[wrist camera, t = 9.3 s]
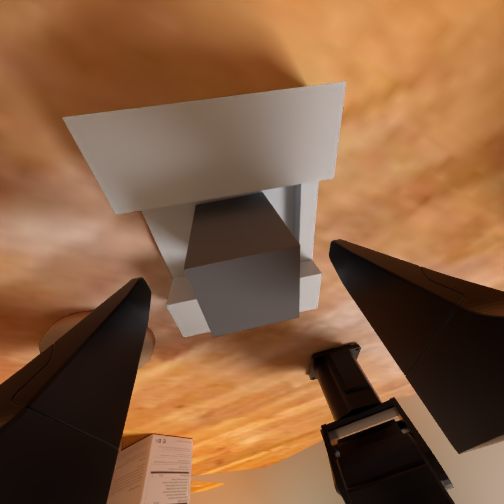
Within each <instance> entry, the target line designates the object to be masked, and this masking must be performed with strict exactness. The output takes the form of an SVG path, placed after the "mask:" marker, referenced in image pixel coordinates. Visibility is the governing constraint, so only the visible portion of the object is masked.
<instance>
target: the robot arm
mask: <svg viewBox="0 0 504 504" xmlns="http://www.w3.org/2000/svg"><path fill="white" fill-rule="evenodd" d="M329 258H330V260H331V262H332V264H333V266H334V268H335V270H336V272H337V274H338V276H339V277H340V279H341V281H342V283H343V285H344V286H345V288H346V289H347V291H348V292H349V294H350V295H351V297H352V298H353V300H354V301H355V302H356V304H357V305H358V307H359V308H360V310H361V311H362V313H363V314H364V316H365V317H366V319H367V320H368V322H369V323H370V325H371V326H372V328H373V329H374V331H375V332H376V333H377V335H378V336H379V338H380V339H381V341H382V342H383V344H384V345H385V347H386V348H387V350H388V351H389V353H390V354H391V356H392V357H393V359H394V360H395V362H396V363H397V365H398V366H399V367H400V369H401V370H402V372H403V373H404V375H406V378H407V380H408V381H409V382H410V384H411V385H412V387H413V388H414V390H415V391H416V393H417V394H418V396H419V397H420V399H421V400H422V402H423V403H424V404H425V406H426V408H427V409H428V411H429V412H430V413H431V415H432V416H433V418H434V419H435V421H436V422H437V424H438V425H439V427H440V428H441V430H442V431H443V433H444V434H445V436H446V437H447V438H448V440H449V442H450V443H451V444H452V446H453V447H454V449H455V450H456V451H457V452H458V454H461V453H465V452H468V451H471V450H475V449H478V448H482V447H485V446H488V445H492V444H495V443H498V442H502V441H504V292H503V291H500V290H496V289H493V288H489V287H486V286H483V285H479V284H476V283H472V282H469V281H465V280H462V279H459V278H455V277H452V276H448V275H445V274H442V273H439V272H436V271H433V270H430V269H427V268H424V267H419V266H418V265H415V264H412V263H409V262H406V261H403V260H400V259H397V258H394V257H391V256H388V255H385V254H383V253H380V252H377V251H374V250H371V249H368V248H365V247H362V246H359V245H356V244H353V243H350V242H347V241H344V240H341V239H338V240H333V241H332V242H331V244H330V251H329ZM150 301H151V290H150V288H149V287H148V285H147V283H146V281H145V280H144V279H143V278H142V277H140V278H135V279H132V280H130V281H129V282H128V283H127V284H126V285H124V286H123V287H122V288H121V289H119V290H118V291H117V292H116V293H114V294H113V295H112V296H111V297H110V298H108V299H107V300H106V301H105V302H103V303H102V304H101V305H100V306H98V307H97V308H96V309H95V310H94V311H92V312H91V313H90V314H89V315H87V316H86V317H85V318H84V319H82V320H81V321H80V322H79V323H78V324H76V325H75V326H74V327H73V328H71V329H70V330H69V331H68V332H66V333H65V334H64V335H63V336H62V337H60V338H59V339H58V340H57V341H55V342H54V344H52V345H50V346H49V347H48V348H47V349H45V350H44V351H43V352H42V353H41V354H39V355H38V356H37V357H36V358H34V359H33V360H32V361H30V362H29V363H28V364H27V365H25V366H24V367H23V368H22V369H20V370H19V371H18V372H16V373H15V374H14V375H12V376H11V377H10V378H8V379H7V380H6V381H4V382H3V383H2V384H0V504H107V500H108V495H109V491H110V487H111V482H112V478H113V474H114V470H115V465H116V461H117V457H118V452H119V447H120V443H121V439H122V434H123V430H124V426H125V421H126V417H127V413H128V408H129V404H130V400H131V396H132V391H133V387H134V383H135V378H136V374H137V370H138V365H139V361H140V357H141V352H142V348H143V344H144V340H145V335H146V331H147V326H148V320H149V311H150ZM360 350H361V347H360V346H359V344H356V345H352V346H347V347H343V348H339V349H335V350H331V351H326V352H322V353H318V354H314V355H313V356H312V358H311V366H310V373H309V377H310V380H315V379H318V381H319V383H320V386H321V388H322V391H323V393H324V396H325V398H326V401H327V403H328V405H329V408H330V410H331V413H332V415H333V418H334V420H335V421H334V422H332V423H329V424H327V425H326V424H324V425H321V428H322V429H321V430H320V431H321V434H322V437H323V440H324V442H325V446H326V449H327V453H328V457H329V462H330V467H331V471H332V476H333V480H334V485H335V489H336V491H337V493H338V494H339V495H341V496H342V498H343V500H344V501H345V503H346V504H455V503H454V502H453V500H452V499H451V497H450V496H449V494H448V492H447V491H446V490H448V489H451V488H453V485H452V483H451V481H450V480H449V478H448V476H447V475H446V473H445V471H444V470H443V468H442V467H441V465H440V464H439V462H438V461H437V459H436V457H435V456H434V454H433V453H432V451H431V450H430V448H429V447H428V446H427V444H426V443H425V441H424V440H423V438H422V437H421V435H420V434H419V433H418V431H417V430H416V428H415V427H414V425H413V424H412V422H411V421H410V419H409V418H408V417H407V415H406V414H405V412H404V411H403V409H402V408H401V406H400V405H399V403H398V402H397V400H396V399H395V398H394V397H393V398H390V400H388V401H386V402H383V403H382V402H381V400H380V398H379V397H378V395H377V393H376V392H375V390H374V388H373V387H372V385H371V383H370V382H369V380H368V379H367V377H366V375H365V374H364V372H363V370H362V369H361V367H360V365H359V364H358V362H357V357H358V355H359V352H360ZM395 416H398V417H399V419H400V420H399V421H397V422H396V421H395V420H394V419H393V420H390V421H388V422H385V423H382V424H380V425H377V426H374V427H371V428H368V429H366V430H363V431H360V432H358V433H355V434H352V435H350V436H347V437H344V438H342V439H339V437H342V436H344V435H347V434H350V433H352V432H355V431H358V430H360V429H363V428H366V427H368V426H371V425H374V424H377V423H379V422H382V421H384V420H387V419H390V418H392V417H395Z"/></svg>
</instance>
